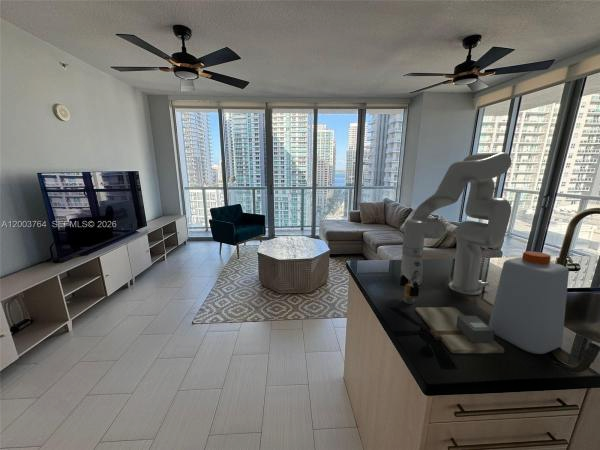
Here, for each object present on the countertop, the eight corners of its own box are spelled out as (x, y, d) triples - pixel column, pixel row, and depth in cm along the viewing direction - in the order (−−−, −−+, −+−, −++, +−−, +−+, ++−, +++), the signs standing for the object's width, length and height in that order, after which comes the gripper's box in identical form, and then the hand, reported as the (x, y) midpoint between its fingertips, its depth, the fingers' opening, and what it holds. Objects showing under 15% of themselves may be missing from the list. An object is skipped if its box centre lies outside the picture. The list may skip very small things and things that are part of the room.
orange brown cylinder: (411, 299, 105) (413, 283, 104) (416, 303, 101) (417, 287, 100) (402, 299, 105) (403, 283, 104) (406, 304, 101) (407, 288, 100)
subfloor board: (458, 309, 96) (458, 306, 96) (509, 352, 72) (509, 348, 72) (411, 310, 96) (411, 307, 96) (447, 353, 72) (447, 349, 72)
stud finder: (474, 326, 83) (475, 315, 82) (492, 342, 75) (494, 329, 74) (456, 326, 83) (457, 315, 82) (472, 342, 75) (474, 329, 74)
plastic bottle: (567, 346, 75) (586, 257, 69) (537, 359, 69) (554, 265, 64) (510, 320, 89) (522, 244, 83) (482, 329, 83) (492, 250, 78)
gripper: (433, 257, 90) (428, 300, 93) (412, 245, 107) (408, 282, 110) (412, 257, 90) (408, 300, 93) (395, 245, 107) (392, 282, 110)
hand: (408, 290), depth 102 cm, fingers open, 9 cm apart
